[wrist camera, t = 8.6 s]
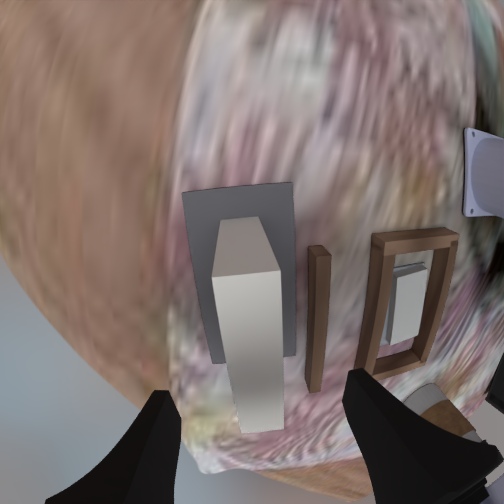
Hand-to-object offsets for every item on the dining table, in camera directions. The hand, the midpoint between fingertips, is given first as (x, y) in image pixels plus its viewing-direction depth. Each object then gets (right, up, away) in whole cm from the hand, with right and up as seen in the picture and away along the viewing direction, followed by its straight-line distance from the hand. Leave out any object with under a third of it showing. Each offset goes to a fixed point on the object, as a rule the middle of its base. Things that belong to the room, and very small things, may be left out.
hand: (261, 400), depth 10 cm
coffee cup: (+22, -14, +18) cm, 32 cm away
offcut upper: (+13, +1, +11) cm, 17 cm away
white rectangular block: (-1, +3, +10) cm, 10 cm away
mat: (-1, +3, +10) cm, 10 cm away
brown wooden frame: (+10, +1, +12) cm, 16 cm away
